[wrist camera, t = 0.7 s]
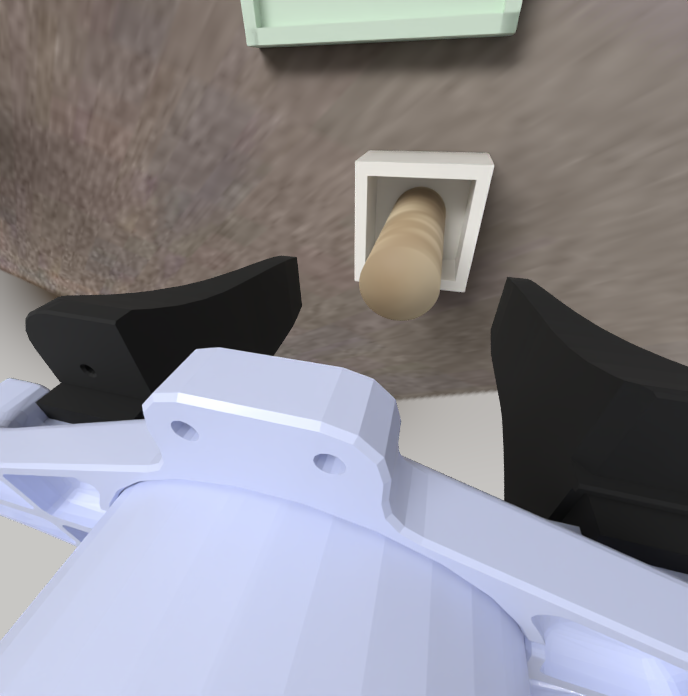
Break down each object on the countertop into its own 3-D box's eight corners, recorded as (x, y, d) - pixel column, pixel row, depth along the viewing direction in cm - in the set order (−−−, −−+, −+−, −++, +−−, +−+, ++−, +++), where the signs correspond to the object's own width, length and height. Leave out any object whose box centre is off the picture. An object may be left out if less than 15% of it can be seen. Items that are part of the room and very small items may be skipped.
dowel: (450, 187, 18) (447, 250, 11) (441, 242, 20) (433, 325, 13) (394, 185, 19) (359, 243, 12) (391, 238, 20) (358, 315, 14)
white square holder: (488, 152, 17) (494, 165, 14) (463, 266, 21) (464, 292, 18) (369, 150, 18) (355, 161, 16) (366, 257, 22) (354, 280, 20)
